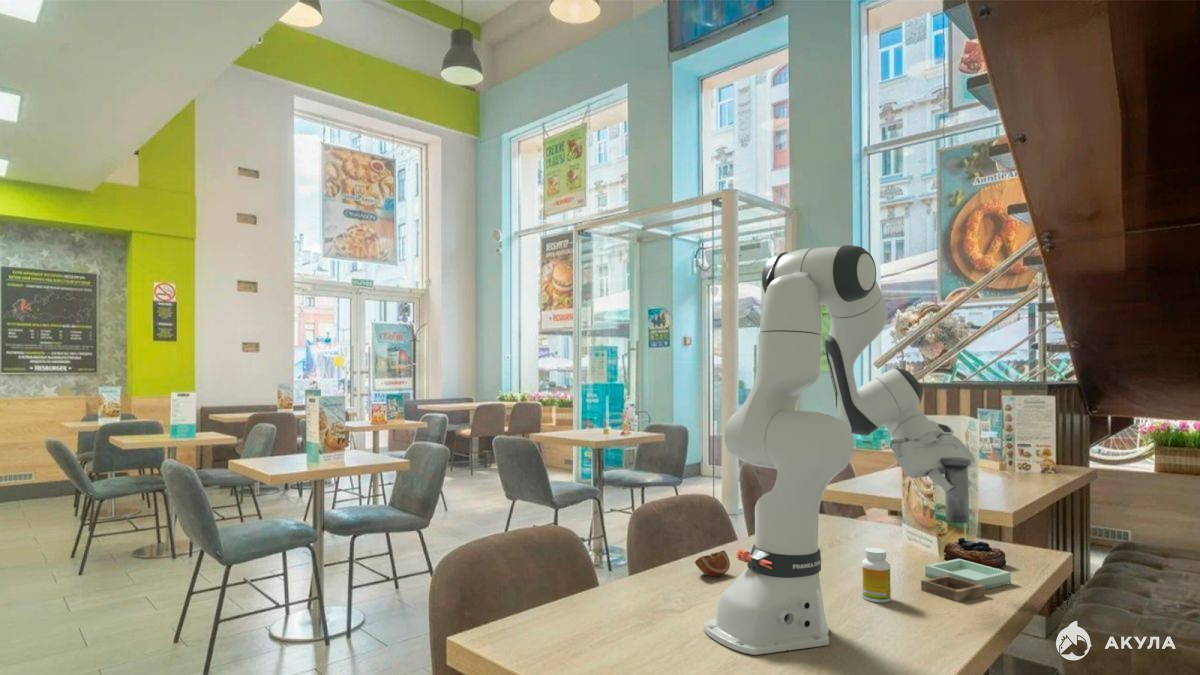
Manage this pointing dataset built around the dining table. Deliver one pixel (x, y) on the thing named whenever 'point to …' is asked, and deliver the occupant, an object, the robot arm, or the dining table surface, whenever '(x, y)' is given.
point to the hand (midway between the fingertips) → (959, 488)
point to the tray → (969, 572)
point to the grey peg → (957, 489)
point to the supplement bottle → (876, 576)
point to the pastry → (975, 553)
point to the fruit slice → (714, 564)
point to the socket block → (940, 587)
